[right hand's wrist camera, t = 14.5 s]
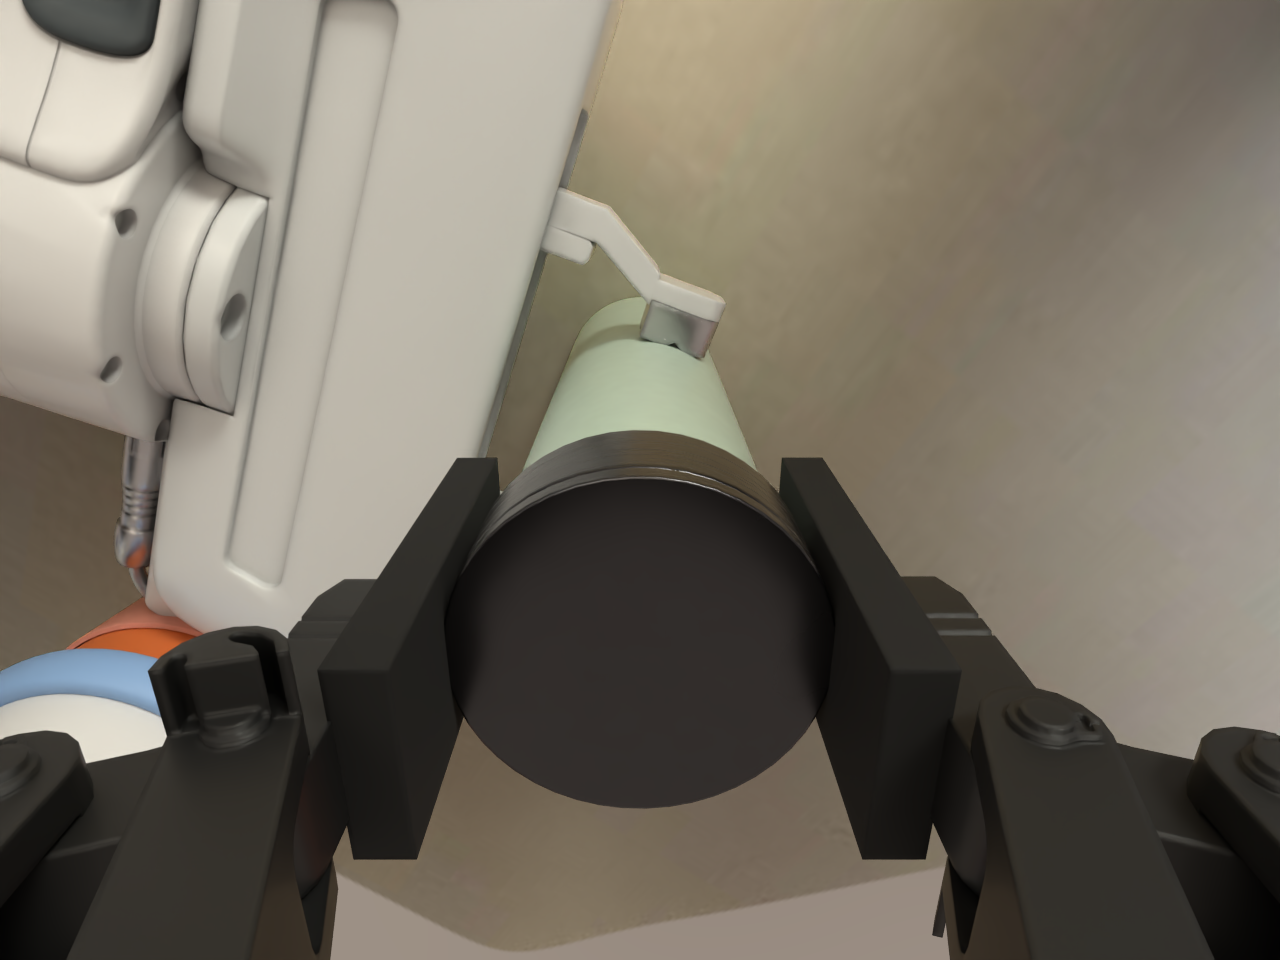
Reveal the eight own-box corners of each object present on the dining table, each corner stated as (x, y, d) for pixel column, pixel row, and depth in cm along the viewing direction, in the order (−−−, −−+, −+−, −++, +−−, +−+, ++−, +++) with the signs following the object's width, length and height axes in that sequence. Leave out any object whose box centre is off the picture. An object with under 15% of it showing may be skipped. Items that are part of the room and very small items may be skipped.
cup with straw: (285, 731, 32) (-98, 1326, 15) (117, 581, 29) (-570, 1107, 13) (444, 626, 30) (201, 1177, 13) (280, 454, 27) (-281, 880, 11)
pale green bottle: (737, 366, 26) (879, 634, 11) (640, 459, 28) (640, 816, 12) (639, 266, 25) (639, 404, 10) (542, 367, 26) (401, 634, 11)
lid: (561, 364, 11) (545, 402, 9) (873, 524, 12) (917, 588, 10) (421, 646, 12) (384, 724, 11) (702, 765, 13) (711, 856, 12)
